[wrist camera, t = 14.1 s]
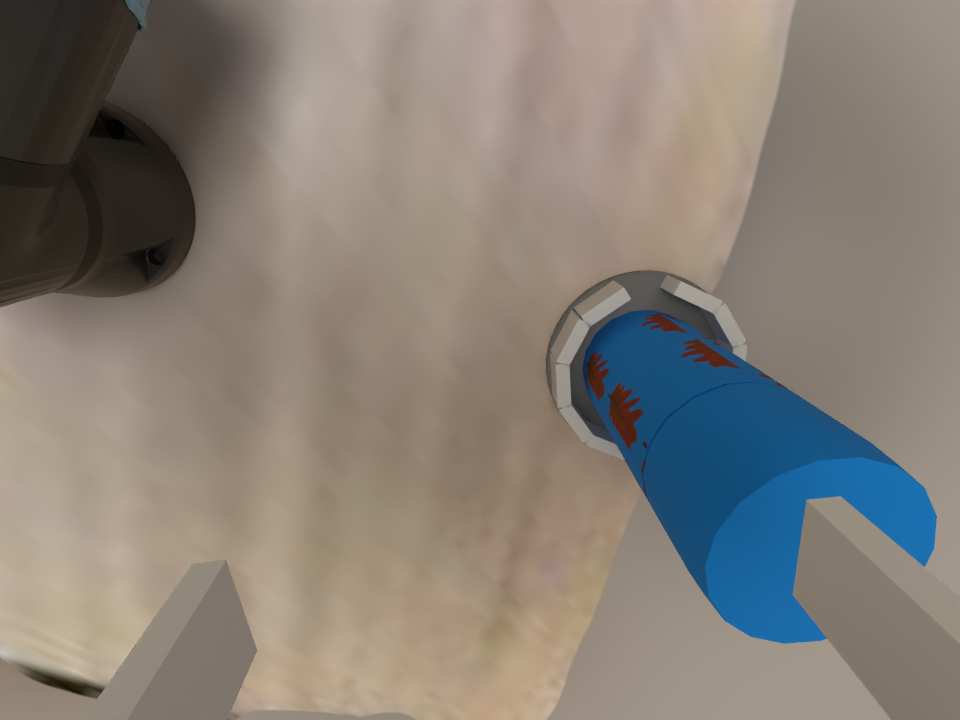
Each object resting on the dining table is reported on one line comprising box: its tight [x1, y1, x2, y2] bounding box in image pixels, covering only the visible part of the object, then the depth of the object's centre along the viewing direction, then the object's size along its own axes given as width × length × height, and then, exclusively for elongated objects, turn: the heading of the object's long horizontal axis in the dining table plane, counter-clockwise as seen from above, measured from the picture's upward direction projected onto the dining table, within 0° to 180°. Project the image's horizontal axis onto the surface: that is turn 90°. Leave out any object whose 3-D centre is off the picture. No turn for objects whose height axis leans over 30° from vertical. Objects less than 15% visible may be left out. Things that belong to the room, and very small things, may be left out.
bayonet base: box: [546, 271, 747, 461], centre depth 45 cm, size 17×17×4 cm
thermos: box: [582, 310, 937, 643], centre depth 34 cm, size 11×11×25 cm
